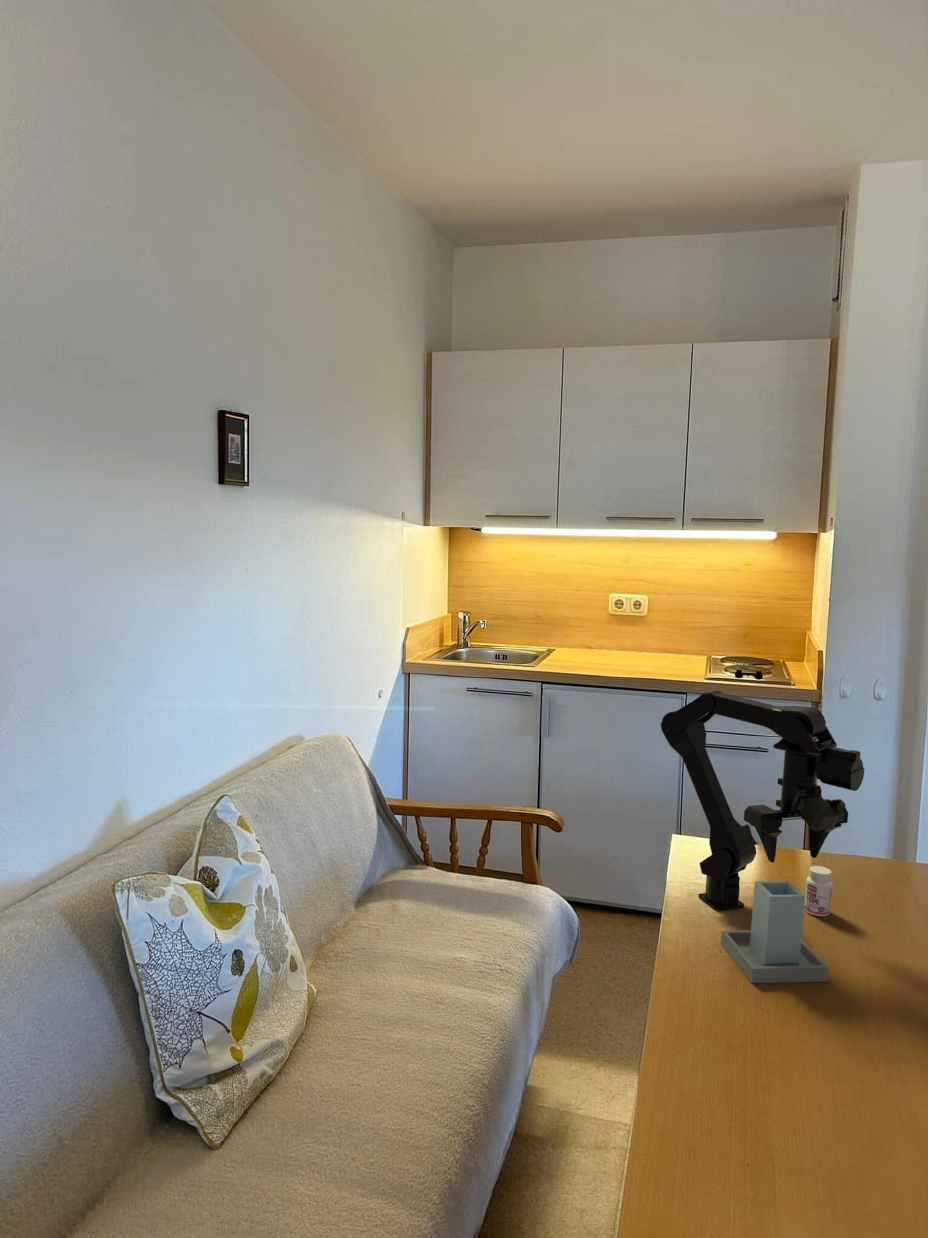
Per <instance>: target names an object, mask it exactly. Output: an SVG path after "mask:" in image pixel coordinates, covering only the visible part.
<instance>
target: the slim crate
mask: <svg viewBox="0 0 928 1238" xmlns="http://www.w3.org/2000/svg"><path fill="white" fill-rule="evenodd" d="M752 901H753V902H752V913H751V924H750V925H751V927H750V930H751V936H750V948H749V951H750V952H751V953H752V954H753V956H754V957H755V958H756V959H757V960H758V962H759V963H760V964H761V965H762V966H799V960H800V949H801V939H802V936H803V935H802V934H803V925H804V915H805V914H804V913H805V910H804V904H805V894H803V893H802V892H801V890H799V889H798V888H797V887H796V886H794V885H793V883H791V882H790V881H788V880H778V881H775V880H772V881H771V880H770V881H769V880H766V881H763V880H762V881H761V880H759V881H754V888H753V900H752Z"/></svg>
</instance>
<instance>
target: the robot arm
mask: <svg viewBox="0 0 928 1238" xmlns="http://www.w3.org/2000/svg"><path fill="white" fill-rule="evenodd" d="M715 715H719V716H721V717H722V716H723V717H726V718H730V719H732V720H733V719H735V720H736V721H737V720H738V721H741V722H744V723H749V724H753V725H757V726H761V727H764V728H766V729H768V730H770V731H772V732H773V733H774V734H775V735H777V736H779V737H781V739H780V740H779V741H778V742H776V743H774V744H772V745H773V749H776V750H779V751H780V750H781V751H784V758H783V769H782V770H783V771H782V777H780V778H779V777H778V778H777V782H776V783H777V784H778V785H779V786H781V792H780V793H781V794H780V799H776V800H775V806H777V807H778V808H780V809H777V810H776V809H774V808H771V807H770V806H767V805H766V804H756V805H755V804H754V805H747V807H746V808H745V809H744V812H743V821H745V822H746V823H748V824H744V825H741V824H740V823H739V822H738V821H737V820H736V819H735V817H734V816H733V815H734V814H733V812H732V810H731V807H730V806H729V803H728V801H727V798H726V795H725V793H724V791H723V789H722V786H721V784H720V780H719V779H718V776H717V774H716V772H715V771H716V770H715V769H714V767H713V763H712V761H711V758H710V756H709V755H708V751H707V748H706V747H707V744H706V743H707V731H706V730H707V729H706V726H705V724H706V723H708V722H709V721H710V720H711V719H712V718H714V716H715ZM826 723H827V722H826V719H825V716H824V714H823V713H822V711H821V710H820V709H819V708H817V707H813V706H805V705H802V706H801V705H774V704H770V703H766V702H761V701H757V700H753V699H751V698H750V699H749V698H744V697H742V696H737V695H733V694H729V693H726V692H725V693H724V692H722V691H721V690H719V689H718V690H716V689H715V690H709V691H706V692H703V693H701V694H700V695H699V696H698V697H697V698H696V699H694V700H692V701H691V702H689V703H687V704H685V705H684V706H681V708H679V709H677V710H673V711H669V712H667V713H665V714H664V716H663V717H662V719H661V722H660V729H661V732H662V734H663V736H664V738H665V740H667V743H668V745H669V746H670V747H671V748H672V749H673V750H674V751H675V752H676V753H677V754H678V755H679V756H680V757H681V759H682V761H683V763H684V765H685V769H686V771H687V773H688V776H689V778H690V781H691V783H692V785H693V788H694V790H695V793H696V795H697V798H698V800H699V802H700V805H701V808H702V810H703V811H702V812H704V815H705V817H706V818H705V819H706V821H707V822H708V826H709V842H708V843H709V847H710V852H711V854H710V855H709V856H708V857H706V858H705V859H704V860H702V861H700V862H699V868H700V871H701V874H702V875H704V876H706V881H705V892H702V893H698V898H699V899H701V900H702V901H704V902H705V903H706V904H708V905H709V906H710V907H711V908H713V909H714V910H716V911H722V910H728V909H730V910H731V909H736V908H738V909H739V908H745V903H744V902H743V901H742V900H740V890H741V886H740V881H741V880H740V879H741V877H740V875H739V874H740V873H739V872H741V871H744V870H745V869H747V866H748V865H749V864H751V863H752V862H753V861H754V860H755V858H756V856H757V847H756V845H758V842H757V841H756V840H755V838H754V837H753V834H752V830H751V827H750V826H752V827H754V828H755V830H756V832H757V834H758V836H759V839H760V842H761V845H762V846H763V849H764V852H765V854H766V857H767V859H768V862H770V863H774V862H775V859H776V854H777V844H778V843H777V842H778V837H779V836H780V835H781V834H782V833H783V831H782V830H781V829H780V828H781V827H782V826H783V821H793V820H803V821H804V822H805V823H806V824H807V826H808V839H809V840H808V841H809V842H808V843H809V853H810V857H811V858H812V859H813V858H814V859H816V858H817V857H818V854H819V853H820V851H821V849H822V847H823V845H824V842H825V841H826V839H827V838H828V835H829V834H830V833H831V832H832V831H834V830H836V829H838V828H841V827H842V824H848V822H849V821H848V820H849V811H848V810H847V808H846V803H845V802H844V801H843V800H842V799H840V798H839V799H829V798H827V799H825V798H824V797H822V790H823V789H822V787H821V785H819V784H817V780H819V781H820V782H821V784H825V785H827V786H833V787H837V788H841V789H845V790H849V791H853V792H856V791H858V790H859V789H860V787H861V785H862V783H863V781H864V776H865V767H864V763H863V760H862V758H861V752H860V750H854V749H844V748H840V747H837V746H838V744H837V742H836V740H835V738H834V737H833V735H832V733H831V732H830V730H829V728H828V726H827V725H826ZM814 739H817V741H815V740H814Z"/></svg>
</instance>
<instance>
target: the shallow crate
mask: <svg viewBox="0 0 928 1238" xmlns="http://www.w3.org/2000/svg"><path fill="white" fill-rule="evenodd" d="M720 933H721V934H720V945H721V947H722V948H723V949H724V950H725V951H726V953H727V954H728V955H729V957H730V958H731V960H733V962H734V963H735V964H736V966H737V967H738V968H739V969H740V971H741V972H742V974H743V975H744V976H745V977H746V978H747V980H749V982H750V983H751V984H777V983H815V982H816V983H818V982H821V983H822V982H829V973H830V970H829V969H830V967H829V965H828V964H827V963H826V962H825V961H823V959H822V958H821V957H820V956H819V955H818V954H817V953H816V952H815V951H814V950H813V949H812V948H811V947H810V946H809V945H808V944H807V942H805V941H804V940H803V939H802V938H801V949H800V960H799V966H762V965H761V964H760V963H759V962H758V960H757V959H756V958H755V957H754V956H753V954H752V953H751V952H750V951H749V948H750V936H751V929H748V930H747V929H746V930H744V929H743V930H742V929H741V930H721V932H720Z"/></svg>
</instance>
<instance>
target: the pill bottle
mask: <svg viewBox="0 0 928 1238" xmlns="http://www.w3.org/2000/svg"><path fill="white" fill-rule="evenodd" d="M832 874H833V872H832V870H831V869H830V868H827V867H824V866H819V865H812V866H810V867H809V871H808V876H807V877H806V880H805V887H804V888H805V890H804V896H805V904H804V912H805V913H807V914H808V915H812V916H814V917H815V916H816V917H820V916H821V917H823V918H824V917H827V916H829V915H830V913H831V907H832V897H833V888H834V887H833V885H834V883H833V881H832Z"/></svg>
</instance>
